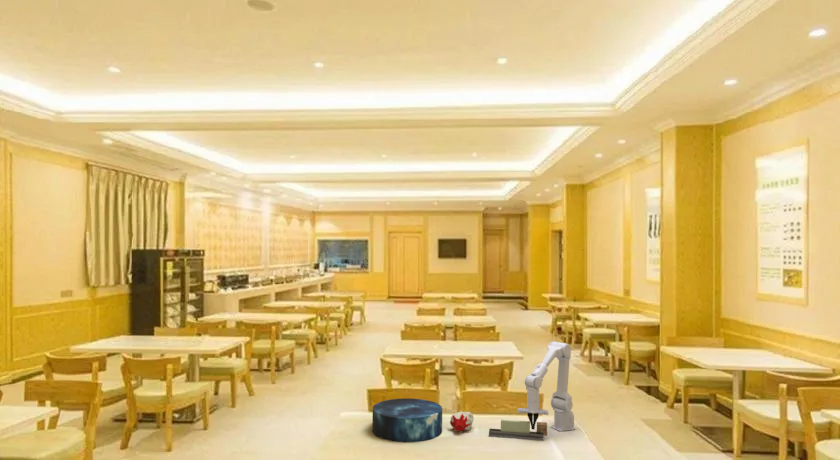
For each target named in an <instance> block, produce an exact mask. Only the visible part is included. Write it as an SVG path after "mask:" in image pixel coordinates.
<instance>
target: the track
mask: <svg viewBox="0 0 840 460" xmlns="http://www.w3.org/2000/svg"><path fill="white" fill-rule="evenodd" d="M488 437H491V438H502V439H503V438H504V439H505V438H506V439H516V440H517V439H519V440H531V441H544V435H543V432H537V431H531V430H530V433H516V432H503V431H501V428H489V430H488Z"/></svg>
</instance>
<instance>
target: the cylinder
mask: <svg viewBox="0 0 840 460" xmlns="http://www.w3.org/2000/svg"><path fill="white" fill-rule="evenodd" d="M371 423H372V424H371V425H372V427H371V429H372V430H371V431H372V434H373V435H374V436H375V437H377V438H379V439H382V440H385V441H388V442H394V443H395V442H396V443H419V442H426V441H427V442H428V441H430V440H434V439H436V438H438V437H440V435H442V433H443V406H442V405H441V404H439V403H438V402H436V401H435V402H434V401H431V400H429V399H422V398H410V397H409V398H392V399H385V400H383V401H379V402H377V403H375V404H373V406H372V421H371Z"/></svg>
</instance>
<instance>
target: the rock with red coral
mask: <svg viewBox="0 0 840 460" xmlns="http://www.w3.org/2000/svg"><path fill="white" fill-rule="evenodd" d="M449 421H450V422H449V424H450V425H451V426H450V427H452V429H453V430H454V431H455V432H461V433H462V432H466V431H468V432H469V431H470V429H471V428H472V426H473V422H474V415H473V414H472V412H470V411H458V412H455V413H454V414H452V415H451V417H450V420H449Z"/></svg>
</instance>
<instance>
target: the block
mask: <svg viewBox="0 0 840 460" xmlns="http://www.w3.org/2000/svg"><path fill="white" fill-rule="evenodd" d="M536 432H543V436H547V437H548V422H545V421H544V422H543V421H536Z"/></svg>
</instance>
